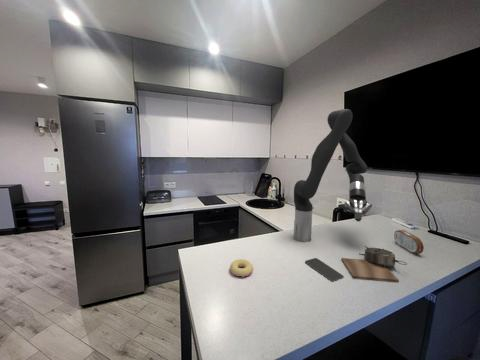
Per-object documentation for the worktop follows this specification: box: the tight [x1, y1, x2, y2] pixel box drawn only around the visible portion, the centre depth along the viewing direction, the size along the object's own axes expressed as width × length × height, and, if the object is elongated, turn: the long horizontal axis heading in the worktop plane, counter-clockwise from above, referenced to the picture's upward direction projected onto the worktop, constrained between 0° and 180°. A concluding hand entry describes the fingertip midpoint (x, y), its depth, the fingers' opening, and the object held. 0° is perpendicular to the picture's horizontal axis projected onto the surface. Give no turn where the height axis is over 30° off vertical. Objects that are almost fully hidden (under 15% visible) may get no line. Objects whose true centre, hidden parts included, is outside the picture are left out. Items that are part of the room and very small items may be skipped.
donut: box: [229, 258, 254, 277], centre depth 81 cm, size 10×5×9 cm
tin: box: [393, 229, 425, 254], centre depth 98 cm, size 15×3×8 cm, turn 179°
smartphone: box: [304, 257, 345, 283], centre depth 82 cm, size 7×1×15 cm
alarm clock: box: [358, 245, 408, 267], centre depth 84 cm, size 11×5×16 cm
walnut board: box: [340, 257, 400, 283], centre depth 81 cm, size 16×13×1 cm
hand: (358, 220), depth 96 cm, fingers closed
